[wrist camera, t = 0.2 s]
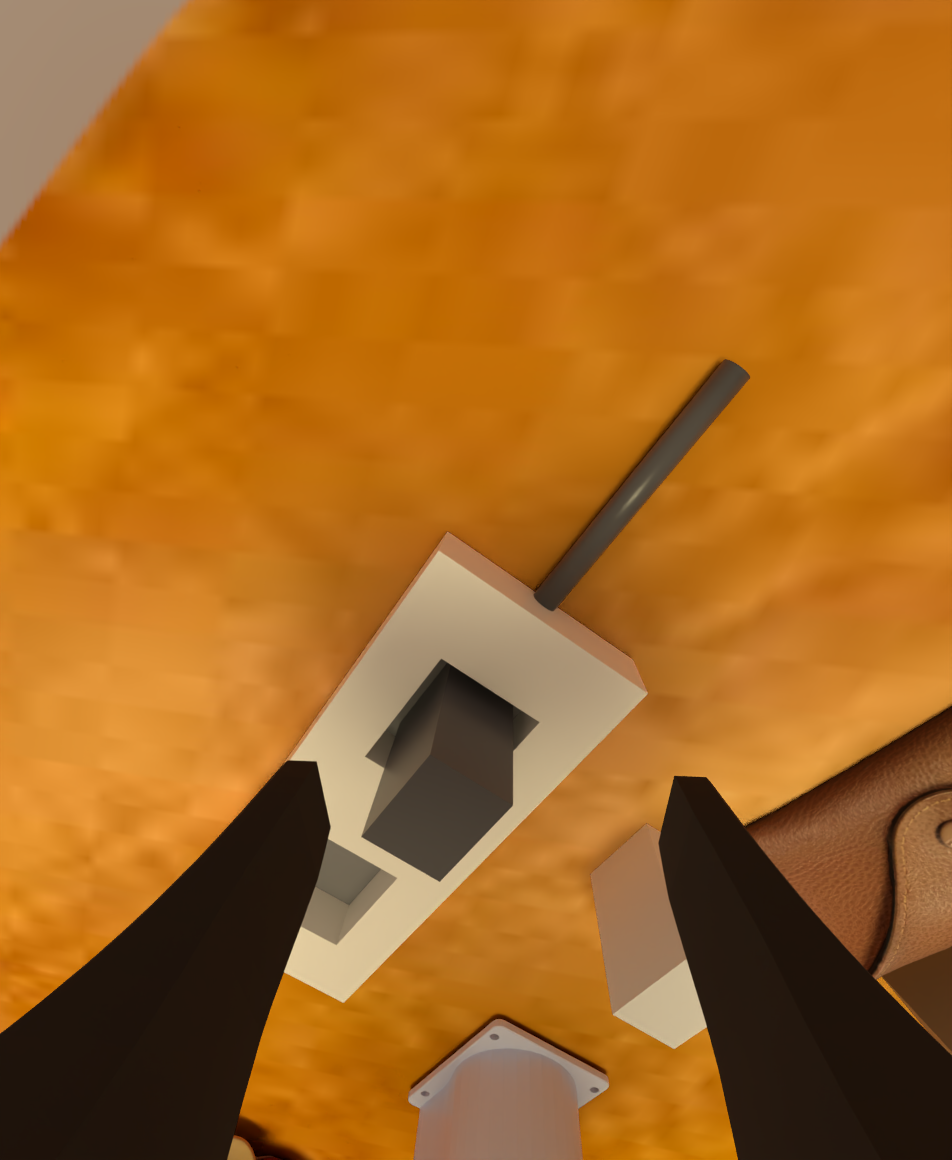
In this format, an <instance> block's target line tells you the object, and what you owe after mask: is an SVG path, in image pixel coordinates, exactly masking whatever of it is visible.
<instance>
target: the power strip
mask: <svg viewBox="0 0 952 1160" xmlns="http://www.w3.org/2000/svg"><path fill="white" fill-rule="evenodd" d="M749 379H750V376H749V374H748V373H747V372H746V371H745V370H744V369H743V368H742V367H740V366H739V365H737V364H736V363H734V362H732V361H730V360H723V362H722V363H721V364H720V365H719V367H718V368H717V369H716V370H715V371H714V373H713V374H712V375H711V376H710V378H709V379H708V380H707V381H706V383H705V384H704V385H703V386H702V387H701V389H700V390H699V391H698V392H697V394H696V395H695V396H694V397H693V399H692V400H691V401H690V402H689V403H688V405H687V406H686V407H685V408H684V410H683V411H682V412H681V413H680V415H679V416H678V417H677V418H676V419H675V421H674V422H673V423H672V424H671V426H670V427H669V428H668V429H667V431H666V432H665V433H664V434H663V435H662V437H661V438H660V439H659V440H658V442H657V443H656V444H655V445H654V447H653V448H652V449H651V450H650V451H649V453H648V454H647V455H646V456H645V458H644V459H643V460H642V461H641V463H640V464H639V465H638V466H637V467H636V469H635V470H634V471H633V472H632V474H631V475H630V476H629V477H628V479H627V480H626V481H625V482H624V483H623V485H622V486H621V487H620V488H619V490H618V491H617V492H616V493H615V495H614V496H613V497H612V498H611V499H610V501H609V502H608V503H607V504H606V506H605V507H604V508H603V509H602V511H601V512H600V513H599V514H598V516H597V517H596V518H595V519H594V520H593V522H592V523H591V524H590V525H589V527H588V528H587V529H586V530H585V532H584V533H583V534H582V535H581V536H580V538H579V539H578V540H577V541H576V543H575V544H574V545H573V546H572V548H571V549H570V550H569V551H568V552H567V554H566V555H565V556H564V557H563V559H562V560H561V561H560V562H559V564H558V565H557V566H556V567H555V568H554V570H553V571H552V572H551V573H550V575H549V576H548V577H547V578H546V580H545V581H544V582H543V583H542V584H541V586H540V587H539V588H538V589H537V591H536V592H535V591H533V590H532V589H530V588H529V587H527V586H526V585H524V584H523V583H522V582H520V581H519V580H517V579H516V578H514V577H513V576H511V575H510V574H509V573H507V572H506V571H504V570H503V569H501V568H500V567H498V566H497V565H496V564H494V563H493V562H491V561H490V560H488V559H487V558H485V557H484V556H483V555H481V554H480V553H478V552H477V551H475V550H474V549H472V548H471V547H470V546H468V545H467V544H465V543H464V542H462V541H461V540H459V539H458V538H457V537H455V536H454V535H452V534H451V533H449V532H448V531H447V533H446V534H445V536H444V537H443V539H442V540H441V541H440V543H439V544H438V546H437V547H436V548H435V550H434V551H433V553H432V554H431V556H430V557H429V558H428V560H427V561H426V563H425V564H424V565H423V567H422V568H421V570H420V571H419V573H418V574H417V575H416V577H415V578H414V580H413V581H412V582H411V584H410V585H409V587H408V588H407V590H406V591H405V592H404V594H403V595H402V597H401V598H400V599H399V601H398V602H397V604H396V605H395V606H394V608H393V609H392V611H391V612H390V614H389V615H388V616H387V618H386V619H385V621H384V622H383V623H382V625H381V626H380V628H379V629H378V631H377V632H376V633H375V635H374V636H373V638H372V639H371V640H370V642H369V643H368V645H367V646H366V648H365V649H364V650H363V652H362V653H361V655H360V656H359V657H358V659H357V660H356V662H355V663H354V665H353V666H352V667H351V669H350V670H349V672H348V673H347V674H346V676H345V677H344V679H343V680H342V682H341V683H340V684H339V686H338V687H337V689H336V690H335V691H334V693H333V694H332V696H331V697H330V698H329V700H328V701H327V703H326V704H325V706H324V707H323V708H322V710H321V711H320V713H319V714H318V715H317V717H316V718H315V720H314V721H313V723H312V724H311V725H310V727H309V728H308V730H307V731H306V732H305V734H304V735H303V737H302V738H301V740H300V741H299V742H298V744H297V745H296V747H295V748H294V749H293V751H292V752H291V754H290V755H289V757H288V758H287V759H286V761H288V760H295V761H317V765H318V770H319V775H320V779H321V784H322V789H323V793H324V798H325V803H326V807H327V812H328V817H329V821H330V826H331V829H330V833H329V837H328V841H327V845H326V849H325V854H324V858H323V861H322V865H321V869H320V873H319V877H318V880H317V883H316V886H315V889H314V892H313V894H312V897H311V900H310V903H309V905H308V908H307V911H306V914H305V916H304V919H303V922H302V925H301V927H300V930H299V933H298V935H297V938H296V941H295V943H294V946H293V949H292V952H291V954H290V957H289V960H288V962H287V965H286V968H285V970H284V972H285V973H287V974H289V975H291V976H293V977H294V978H296V979H298V980H300V981H302V982H304V983H306V984H308V985H310V986H312V987H314V988H316V989H318V990H320V991H322V992H324V993H326V994H327V995H329V996H331V997H333V998H335V999H337V1000H339V1001H341V1002H343V1003H344V1002H345V1001H346V1000H347V999H348V998H349V997H350V996H351V995H352V994H353V993H354V992H355V991H356V990H357V989H358V988H359V987H360V986H361V985H362V984H363V983H364V982H365V981H366V980H367V979H368V978H369V977H370V976H371V975H372V974H373V973H374V972H375V971H376V970H377V969H378V967H379V966H380V965H381V964H382V963H383V962H384V961H385V960H386V959H387V958H388V957H389V956H390V955H391V954H392V953H393V952H394V951H395V950H396V949H397V948H398V947H399V946H400V945H401V944H402V943H403V942H404V941H405V940H406V939H407V938H408V937H409V936H410V935H411V934H412V933H413V932H414V931H415V930H416V929H417V928H418V927H419V926H420V925H421V924H422V923H423V922H424V921H425V920H426V919H427V918H428V917H429V916H430V915H431V914H432V913H433V912H434V911H435V910H436V909H437V908H438V907H439V906H440V905H441V903H442V902H443V901H444V900H445V899H446V898H447V897H448V896H449V895H450V894H451V893H452V892H453V891H454V890H455V889H456V888H457V887H458V886H459V885H460V884H461V883H462V882H463V881H464V880H465V879H466V878H467V877H468V876H469V875H470V874H471V873H472V872H473V871H474V870H475V869H476V868H477V867H478V866H479V865H480V864H481V863H482V862H483V861H484V860H485V859H486V858H487V857H488V856H489V855H490V854H491V853H492V852H493V851H494V850H495V849H496V848H497V847H498V846H499V845H500V844H501V843H502V842H503V840H504V839H505V838H506V837H507V836H508V835H509V834H510V833H511V832H512V831H513V830H514V829H515V828H516V827H517V826H518V825H519V824H520V823H521V822H522V821H523V820H524V819H525V818H526V817H527V816H528V815H529V814H530V813H531V812H532V811H533V810H534V809H535V808H536V807H537V806H538V805H539V804H540V803H541V802H542V801H543V800H544V799H545V798H546V797H547V796H548V795H549V794H550V793H551V792H552V791H553V790H554V789H555V788H556V787H557V786H558V785H559V784H560V783H561V782H562V781H563V780H564V779H565V778H566V776H567V775H568V774H569V773H570V772H571V771H572V770H573V769H574V768H575V767H576V766H577V765H578V764H579V763H580V762H581V761H582V760H583V759H584V758H585V757H586V756H587V755H588V754H589V753H590V752H591V751H592V750H593V749H594V748H595V747H596V746H597V745H598V744H599V743H600V742H601V741H602V740H603V739H604V738H605V737H606V736H607V735H608V734H609V733H610V732H611V731H612V730H613V729H614V728H615V727H616V726H617V725H618V724H619V723H620V722H621V721H622V720H623V719H624V718H625V717H626V716H627V715H628V713H629V712H630V711H631V710H632V709H633V708H634V707H635V706H636V705H637V704H638V703H639V702H640V701H641V700H642V699H643V698H644V697H645V696H646V695H647V694H648V692H647V690H646V688H645V686H644V683H643V681H642V679H641V677H640V674H639V672H638V670H637V668H636V665H635V663H634V661H633V659H631V658H630V657H628V656H627V655H626V654H624V653H623V652H621V651H620V650H618V649H617V648H615V647H614V646H613V645H611V644H610V643H608V642H607V641H605V640H604V639H602V638H601V637H600V636H598V635H597V634H595V633H594V632H592V631H591V630H589V629H588V628H587V627H585V626H584V625H582V624H581V623H579V622H578V621H576V620H575V619H574V618H572V617H571V616H569V615H568V614H566V613H565V612H563V611H562V610H561V609H559V608H558V606H559V605H560V603H561V602H562V601H563V600H564V599H565V598H566V596H567V595H568V594H569V593H570V592H571V590H572V589H573V588H574V587H575V586H576V584H577V583H578V582H579V581H580V580H581V578H582V577H583V576H584V575H585V574H586V573H587V571H588V570H589V569H590V568H591V567H592V565H593V564H594V563H595V562H596V561H597V559H598V558H599V557H600V556H601V555H602V553H603V552H604V551H605V550H606V549H607V548H608V546H609V545H610V544H611V543H612V542H613V540H614V539H615V538H616V537H617V536H618V534H619V533H620V532H621V531H622V530H623V528H624V527H625V526H626V525H627V524H628V523H629V521H630V520H631V519H632V518H633V517H634V515H635V514H636V513H637V512H638V511H639V509H640V508H641V507H642V506H643V505H644V504H645V502H646V501H647V500H648V499H649V498H650V496H651V495H652V494H653V493H654V492H655V490H656V489H657V488H658V487H659V486H660V484H661V483H662V482H663V481H664V480H665V479H666V477H667V476H668V475H669V474H670V473H671V471H672V470H673V469H674V468H675V467H676V465H677V464H678V463H679V462H680V461H681V459H682V458H683V457H684V456H685V455H686V454H687V452H688V451H689V450H690V449H691V448H692V446H693V445H694V444H695V443H696V442H697V440H698V439H699V438H700V437H701V436H702V434H703V433H704V432H705V431H706V430H707V429H708V427H709V426H710V425H711V424H712V423H713V421H714V420H715V419H716V418H717V417H718V415H719V414H720V413H721V412H722V411H723V409H724V408H725V407H726V406H727V405H728V404H729V402H730V401H731V400H732V399H733V398H734V396H735V395H736V394H737V393H738V392H739V390H740V389H741V388H742V387H743V386H744V384H745V383H746V382H747V381H748V380H749ZM286 761H285V762H286ZM285 762H284V763H285Z"/></svg>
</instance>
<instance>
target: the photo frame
mask: <svg viewBox="0 0 952 1160" xmlns="http://www.w3.org/2000/svg"><path fill="white" fill-rule="evenodd" d="M882 978H883V979H884V980H885V981H886V982H887V984H888V985H889V986H890V987H891V988H892V989H893V991H894V992H895V993H896V994H897V995H898V997H899V998H900V999H901V1000H902V1001H903V1003H904V1004H905V1005H906V1006H907V1007H908V1009H909V1010H910V1011H911V1012H912V1013H913V1015H914V1016H915V1017H916V1018H917V1019H918V1020H919V1022H920V1023H921V1024H922V1025H923V1026H924V1028H925V1029H926V1030H927V1031H928V1032H929V1034H931V1035H932V1036H933V1037H934V1038H935V1039H936V1040H937V1041H938V1042H939V1043H940V1044H941V1045H942V1046H943V1047H944V1048H945V1049H946V1050H947V1051H948V1052H949V1053H950V1054H951V1055H952V946H951V947H949V948H947V949H945V950H942V951H940V952H937V953H934V954H932V955H929V956H928V957H925V958H922V959H920V960H917V961H914V962H912V963H910V964H907V965H905V966H903V967H900V968H898V969H896V970H893V971H892V972H890V973H887V974H885V975H883V976H882Z"/></svg>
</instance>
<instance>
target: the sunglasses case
mask: <svg viewBox="0 0 952 1160" xmlns="http://www.w3.org/2000/svg"><path fill="white" fill-rule="evenodd" d="M745 828H746V829H747V831H748V832H749V833H750V834H751V836H752V837H753V838H754V840H755V841H756V842H757V843H758V845H759V846H760V847H761V849H762V850H763V851H764V852H765V854H766V855H767V856H768V857H769V859H770V860H771V861H772V862H773V863H774V865H775V866H776V867H777V868H778V869H779V871H780V872H781V873H782V874H783V876H784V877H785V878H786V879H787V880H788V882H789V883H790V884H791V885H792V886H793V888H794V889H795V890H796V891H797V892H798V894H799V895H800V896H801V897H802V898H803V900H804V901H805V902H806V903H807V904H808V905H809V907H810V908H811V909H812V910H813V911H814V912H815V913H816V915H817V916H818V917H819V918H820V919H821V920H822V921H823V923H824V924H825V925H826V926H827V927H828V928H829V929H830V930H831V932H832V933H833V934H834V935H835V936H836V937H837V938H838V939H839V940H840V942H841V943H842V944H843V945H844V946H845V947H846V948H847V949H848V950H849V952H850V953H851V954H852V955H853V956H854V957H855V958H856V959H857V960H858V961H859V962H860V963H861V964H862V966H863V967H864V968H865V969H866V970H867V971H868V972H869V973H870V974H871V975H872V976H873V977H874V978H875V979H876V980H877V979H878V978H880V977H881V976H883V975H885V974H887V973H890V972H892V971H893V970H896V969H898V968H900V967H903V966H905V965H907V964H910V963H912V962H914V961H917V960H920V959H922V958H925V957H928V956H929V955H932V954H934V953H937V952H940V951H942V950H945V949H947V948H949V947H951V946H952V707H950V708H949V709H947V710H946V711H944V712H943V713H941V714H940V715H938V716H936V717H934V718H933V719H931V720H929V721H928V722H926V723H924V724H923V725H921V726H919V727H917V728H916V729H914V730H912V731H911V732H909V733H908V734H906V735H905V736H903V737H901V738H900V739H897V740H896V741H894V742H893V743H891V744H890V745H888V746H886V747H885V748H883V749H881V750H880V751H878V752H876V753H874V754H873V755H871V756H870V757H868V758H866V759H864V760H863V761H861V762H860V763H858V764H856V765H855V766H853V767H851V768H850V769H848V770H846V771H844V772H842V773H841V774H839V775H837V776H835V777H833V778H832V779H830V780H829V781H827V782H825V783H824V784H822V785H820V786H818V787H817V788H815V789H813V790H812V791H810V792H808V793H806V794H804V795H802V796H801V797H799V798H797V799H796V800H794V801H793V802H791V803H789V804H788V805H786V806H785V807H783V808H781V809H779V810H777V811H776V812H773V813H771V814H769V815H767V816H765V817H763V818H761V819H759V820H757V821H755V822H753V823H751V824H749V825H747V826H746V827H745Z"/></svg>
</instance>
